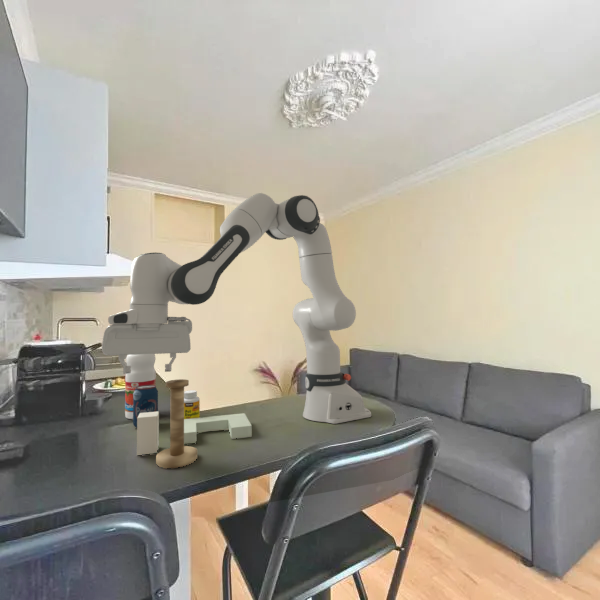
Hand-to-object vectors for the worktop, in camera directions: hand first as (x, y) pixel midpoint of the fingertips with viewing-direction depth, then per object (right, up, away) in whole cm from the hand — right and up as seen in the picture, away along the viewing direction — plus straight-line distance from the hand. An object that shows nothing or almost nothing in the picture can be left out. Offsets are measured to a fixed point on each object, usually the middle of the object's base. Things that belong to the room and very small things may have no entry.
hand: (148, 372), depth 86 cm
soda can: (-9, -21, +19) cm, 30 cm away
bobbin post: (+9, -19, -6) cm, 22 cm away
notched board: (+13, -20, +12) cm, 26 cm away
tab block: (0, -19, -1) cm, 19 cm away
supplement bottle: (+4, -20, +19) cm, 28 cm away
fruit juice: (-16, -21, +31) cm, 41 cm away
